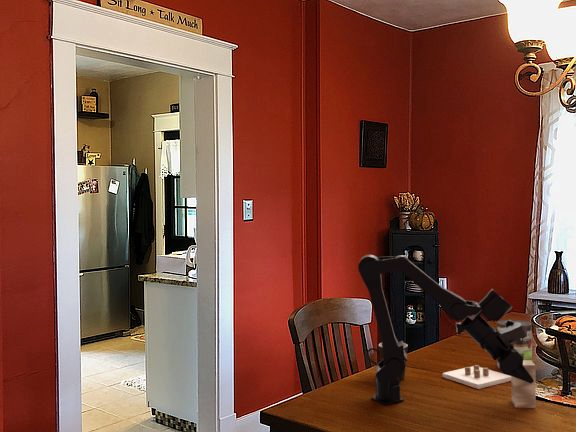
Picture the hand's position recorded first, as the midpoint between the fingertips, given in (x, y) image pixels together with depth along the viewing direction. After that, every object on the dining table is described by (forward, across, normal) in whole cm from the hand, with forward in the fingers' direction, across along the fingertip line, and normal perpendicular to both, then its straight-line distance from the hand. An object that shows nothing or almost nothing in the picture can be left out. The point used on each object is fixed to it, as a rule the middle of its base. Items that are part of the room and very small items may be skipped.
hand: (528, 376), depth 165 cm
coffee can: (+7, +36, +3) cm, 37 cm away
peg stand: (-2, +22, +12) cm, 25 cm away
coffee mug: (-20, +21, +31) cm, 42 cm away
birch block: (+4, 0, +6) cm, 7 cm away
